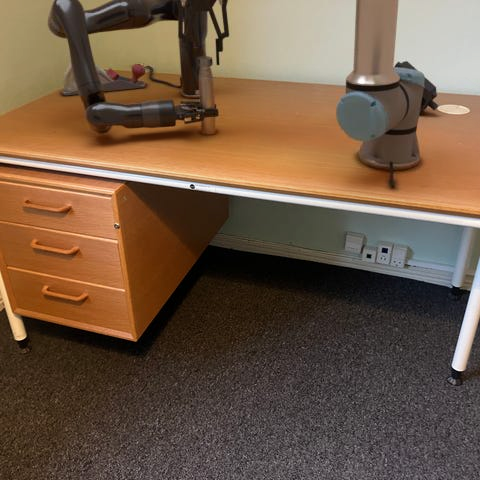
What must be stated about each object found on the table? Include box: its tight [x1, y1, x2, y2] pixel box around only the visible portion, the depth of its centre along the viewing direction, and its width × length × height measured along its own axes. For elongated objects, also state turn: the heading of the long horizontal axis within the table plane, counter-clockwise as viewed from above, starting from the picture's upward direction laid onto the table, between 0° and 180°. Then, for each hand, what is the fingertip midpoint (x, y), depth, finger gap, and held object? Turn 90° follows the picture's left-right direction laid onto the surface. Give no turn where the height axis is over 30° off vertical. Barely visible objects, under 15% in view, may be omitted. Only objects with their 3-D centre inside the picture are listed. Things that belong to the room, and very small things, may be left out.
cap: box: [198, 55, 214, 67], centre depth 147 cm, size 4×4×2 cm
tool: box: [393, 60, 439, 113], centre depth 169 cm, size 6×19×15 cm, turn 51°
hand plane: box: [61, 62, 146, 96], centre depth 194 cm, size 7×31×15 cm, turn 107°
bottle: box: [199, 66, 217, 136], centre depth 153 cm, size 4×4×21 cm
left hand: (216, 109), depth 155 cm, fingers closed on bottle, 4 cm apart
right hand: (205, 64), depth 148 cm, fingers open, 6 cm apart
